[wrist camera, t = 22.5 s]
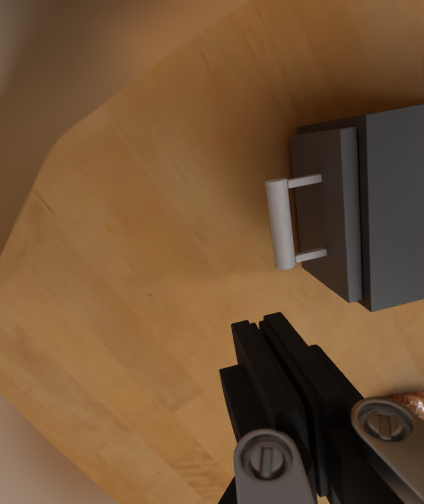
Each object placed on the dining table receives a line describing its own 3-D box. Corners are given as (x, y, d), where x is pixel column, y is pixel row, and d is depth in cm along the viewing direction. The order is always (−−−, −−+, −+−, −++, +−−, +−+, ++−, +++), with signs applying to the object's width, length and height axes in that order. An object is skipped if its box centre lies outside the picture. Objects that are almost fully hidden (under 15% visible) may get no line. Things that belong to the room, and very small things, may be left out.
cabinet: (309, 267, 34) (371, 312, 24) (296, 127, 30) (366, 114, 20) (445, 235, 36) (554, 265, 26) (451, 98, 32) (584, 74, 22)
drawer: (260, 277, 32) (295, 316, 25) (242, 144, 29) (276, 141, 21) (432, 237, 35) (516, 261, 27) (437, 108, 31) (536, 92, 23)
